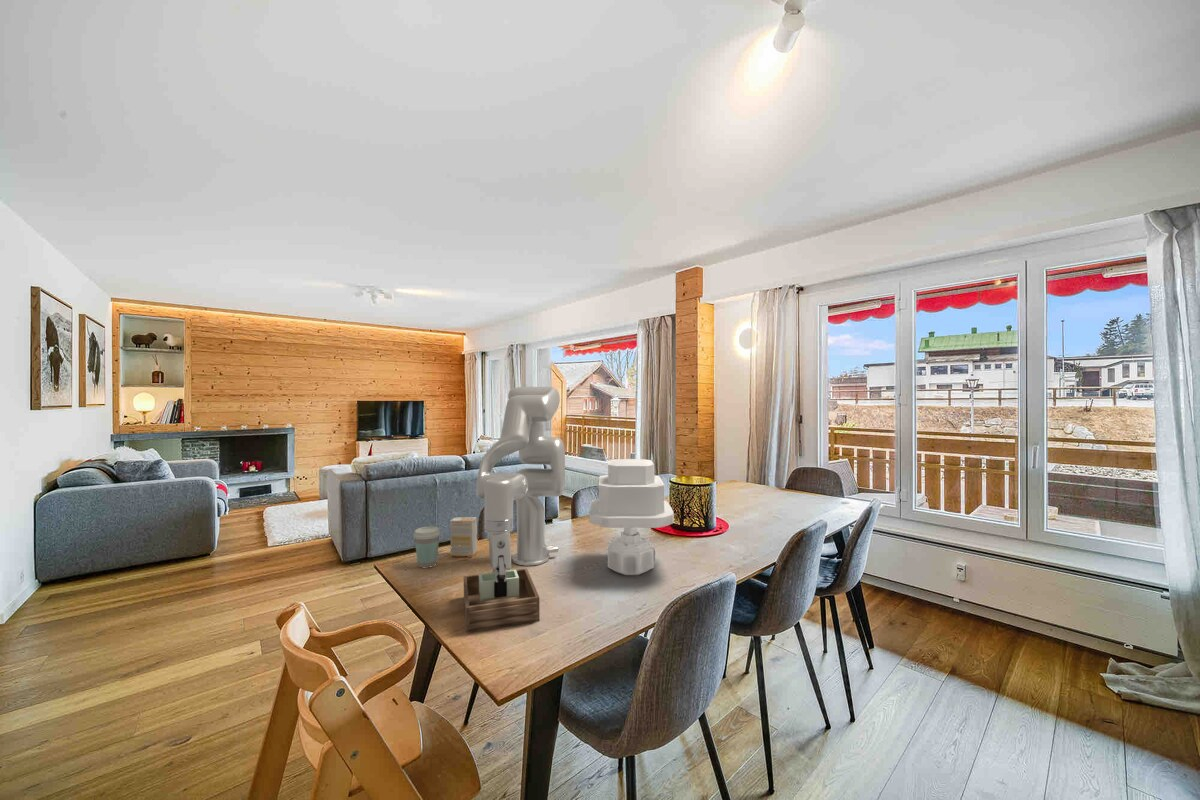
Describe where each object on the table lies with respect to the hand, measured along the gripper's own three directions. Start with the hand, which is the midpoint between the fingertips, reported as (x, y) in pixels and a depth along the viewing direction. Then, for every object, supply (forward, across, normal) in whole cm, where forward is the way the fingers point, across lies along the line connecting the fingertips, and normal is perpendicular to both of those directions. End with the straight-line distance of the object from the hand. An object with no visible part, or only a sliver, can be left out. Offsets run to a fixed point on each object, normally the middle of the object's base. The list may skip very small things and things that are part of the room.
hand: (499, 590), depth 123 cm
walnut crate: (+5, 0, 0) cm, 5 cm away
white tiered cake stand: (+5, +15, -44) cm, 47 cm away
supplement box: (+5, +45, +8) cm, 46 cm away
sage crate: (+1, 0, 0) cm, 1 cm away
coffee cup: (+5, +39, +20) cm, 44 cm away
